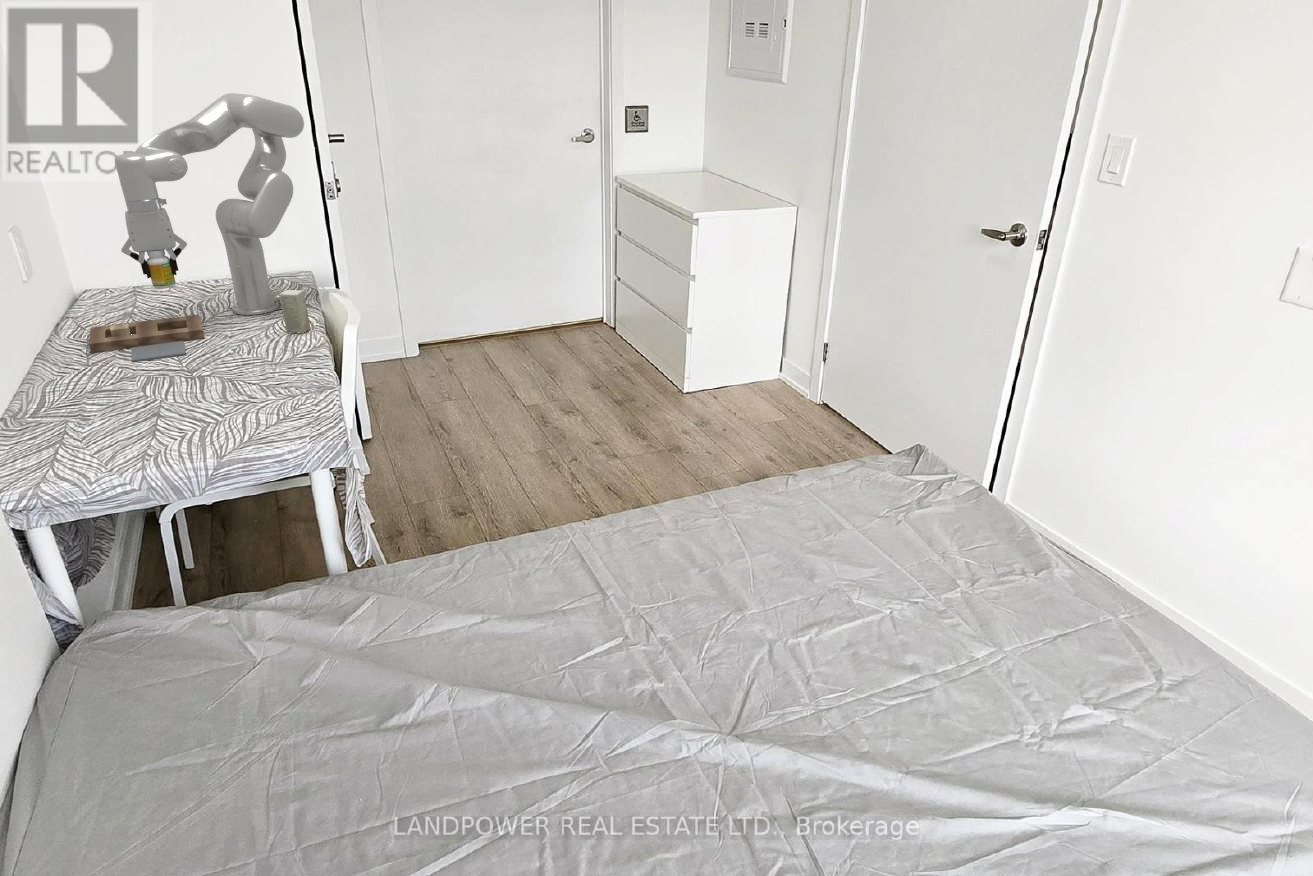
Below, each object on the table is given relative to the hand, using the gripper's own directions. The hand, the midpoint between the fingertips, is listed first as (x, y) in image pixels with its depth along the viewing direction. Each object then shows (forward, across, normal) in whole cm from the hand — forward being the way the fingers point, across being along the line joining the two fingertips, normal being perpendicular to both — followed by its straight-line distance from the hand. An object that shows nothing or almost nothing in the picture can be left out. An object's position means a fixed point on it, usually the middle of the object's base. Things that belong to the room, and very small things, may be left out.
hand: (161, 274), depth 223 cm
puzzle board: (+16, +7, 0) cm, 18 cm away
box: (+17, -29, +12) cm, 36 cm away
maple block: (+16, +13, 0) cm, 21 cm away
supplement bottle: (+3, 0, 0) cm, 3 cm away
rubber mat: (+16, +5, +14) cm, 22 cm away
